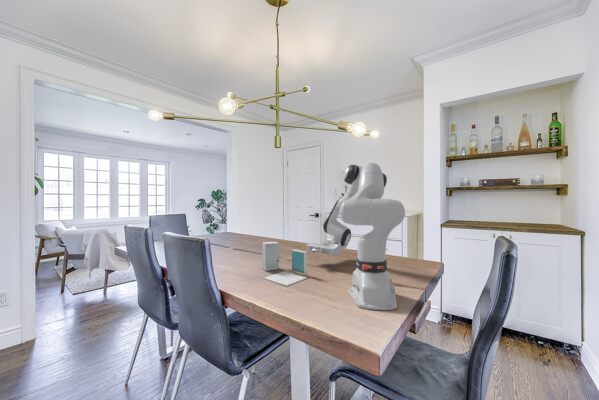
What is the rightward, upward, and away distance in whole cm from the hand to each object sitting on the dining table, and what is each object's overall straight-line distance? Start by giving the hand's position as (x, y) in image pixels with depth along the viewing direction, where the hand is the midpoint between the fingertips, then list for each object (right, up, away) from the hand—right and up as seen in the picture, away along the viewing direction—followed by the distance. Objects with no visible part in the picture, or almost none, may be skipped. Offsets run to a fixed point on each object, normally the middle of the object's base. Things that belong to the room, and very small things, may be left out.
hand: (314, 251), depth 139 cm
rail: (-10, -10, -11) cm, 18 cm away
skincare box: (-24, -10, 0) cm, 26 cm away
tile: (-8, -10, -9) cm, 16 cm away
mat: (-15, -10, -17) cm, 25 cm away
